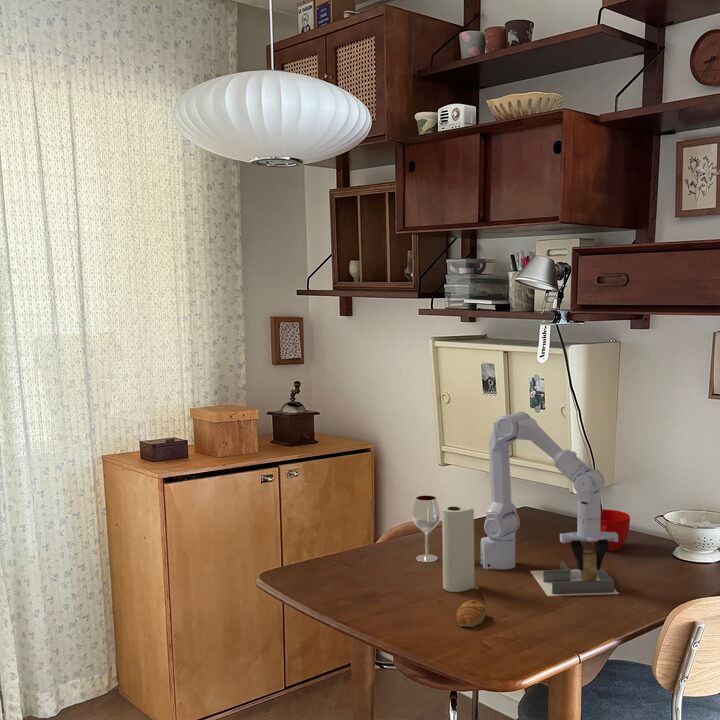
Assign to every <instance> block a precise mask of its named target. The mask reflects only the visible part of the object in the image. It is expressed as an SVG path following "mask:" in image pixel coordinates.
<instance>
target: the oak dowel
mask: <svg viewBox="0 0 720 720" xmlns="http://www.w3.org/2000/svg"><path fill="white" fill-rule="evenodd" d="M582 564H583V568H582V570H581V580H583V581H596V580H597V553H596V552H595V550H589V549H583V555H582Z"/></svg>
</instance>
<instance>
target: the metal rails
mask: <svg viewBox="0 0 720 720" xmlns="http://www.w3.org/2000/svg"><path fill="white" fill-rule="evenodd" d="M559 563H560V565H559V569H547V570H546V569H545V570H542V571H543V582H552V594H581V593H614V589H615V580H614V579H613V578H612V577H611V576H610V575H609V574H608V573H607V572H606V571H605V570H604V569H603V568H602V567H600V570H597V577H598V578H599V579H600V580H599V581H570V570H571V569H570V568H569V566H567V564H566V563H565V561H563V560H560V562H559Z"/></svg>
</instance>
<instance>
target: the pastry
mask: <svg viewBox="0 0 720 720" xmlns="http://www.w3.org/2000/svg"><path fill="white" fill-rule="evenodd" d="M487 613H488V611H487V610H486V608H485V606H484V605H483V604H482V603H481V602H480V601H478V600H474V599H471V600H469V601H465V602H463V603H462V605H461V606H460V607H459V608H457V612H456V619H457V620H456V621H457V624H458V626H459V627H467V628H475V627H476V626H478V624H479V625H481V624H482V623H483V622H484V620H485V618H486V617H487Z"/></svg>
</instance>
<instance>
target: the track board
mask: <svg viewBox="0 0 720 720" xmlns="http://www.w3.org/2000/svg"><path fill="white" fill-rule="evenodd" d="M529 572H530V574H531V575H532V576H533V578H534V579H535V581H536V583H538V585H539V586H540V587H541V589H542V590H543V592H544V593H545V594H546V596H548V597H559V596H561V597H562V596H594V595H595V596H596V595H597V596H599V595H619V594H620V593H619V592H618V591H617V589H615V588H614V593H581V594H552V582H543V570H529ZM599 580H600V579H599V578H598V577H597V580H596V581H599ZM570 581H583V580H581V570H579V569H570Z"/></svg>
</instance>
